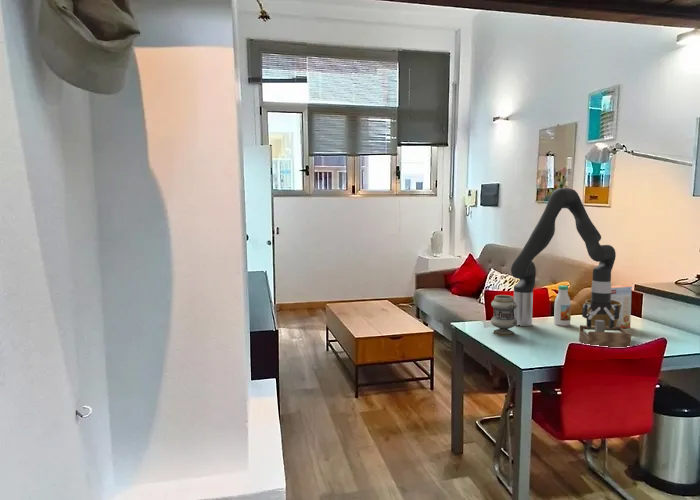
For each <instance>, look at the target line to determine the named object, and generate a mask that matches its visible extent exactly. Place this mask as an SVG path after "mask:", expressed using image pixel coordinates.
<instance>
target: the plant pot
mask: <svg viewBox="0 0 700 500" xmlns="http://www.w3.org/2000/svg"><path fill="white" fill-rule="evenodd" d="M585 304H591V298H589V299H586V300H585ZM614 304H616V305H618V306H619V314H620V309H621V304H622V303H621V302H619V301H615V300H611V305H614ZM591 310H592V309H591V308H590V307H589V309H587V315H588V314H589V312H590V311H591ZM609 312H610V313H611V314H612V316H614V310H613V308H611V309H610V310H609ZM609 319H610V318H609V317H608V315H607V314H605V315H603V314H600V315H597V314H595V315H594V316H593V317H592V318H591V326H595V320H603V321H605V326H609ZM617 321H618V319H615V320H614V326H616V324H617Z"/></svg>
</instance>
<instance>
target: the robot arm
mask: <svg viewBox="0 0 700 500" xmlns="http://www.w3.org/2000/svg"><path fill="white" fill-rule="evenodd" d="M563 209H567V210H568V211H569V212H570V213H571V214H572V216H573V218H574V220H575V221H574V222H575V228H576V231H577V233H578V235H579V236H580V238H581V239H582V240H583V242H584V244H585V248H586V250H587V254H588V256H589V258H590V259H591V260H592V261H595V262H598V265H597V266H595V267H593V269H592V281H591V288H590V290H591V292H590V293H591V294H590V295H591V296H590V297H591V298H590V299H591V304H586V302H583V304H582V313H581V317H582V318H584V319H586V325H587V326H588V327H589V328H591V318H592V317H593V316H594V315H595V314H597V315H600V314H603V315H605V314H607V315H608V317H609V318H610V319H609V328H610V329H612V327H614V320H615V319H619V306H618V305H616V304H614V305H611V286H612V270H613V267H614V265H615V260H616V256H617V255H616V254H617V253H616V249H615V248H614V247H613V246H612V245H610V244H600V242H601V239H602V235H601V234H600V231H598V229H597V227H596V226H595V225H594V223H593V221H592V220H591V218H590V216H589V214H588V212H587V211H586V208H585V206H584V204H583V202H582V199H581V196H579V193H578V192H577V191H576V190H575V189H573V188H564V187H558V188H556V189H554V190H553V192H552V193H551V195H550V197H549V199H548V201H547V204H546V206H545V208H544V211H543V213H542V214H541V216H540V217H539V220H538V222H537V224H536V225H535V227H534V229H533V230H532V232H531V234H530V236H529V238H528V240H527V241H526V242H525V245H524V246H523V249H522V250H521V251H520V253H519V254H518V255H517V257H516V258H515V260H514V261H513V263H512V265H511V266H510V273H511V276H512V277H513V278H515V279H518V282H517V283H516V284H514V286H513V299H514V301H515V302H516V303H517V307H516V308H515V309H514V318H515V319H516V320H517V325H516V326H518V325H520V326H519V327H530V326H532V325H533V304H534V303H533V301H534V299H533V298H534V297H533V296H534V287H535V285H536V277H537V275H536V273H537V270H536V269H537V268H536V265H535V263H534V262H533V260H534V259H535V257H536V256H538V255H539V254H541V252H543V251H544V249H546V248H547V246H548V245H549V244H550V243H551V241H552V239H553V237H554V235H555V232H556V220H557V217H558V215H560V214H559V213H560V212H561V210H563ZM589 307H590V308H591V309H592V310H591V311H590V312H589V314H587V309H589ZM611 308H613V310H614V316H612V314H611V313H610V312H609V310H610V309H611Z"/></svg>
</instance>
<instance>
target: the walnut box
mask: <svg viewBox="0 0 700 500" xmlns="http://www.w3.org/2000/svg"><path fill="white" fill-rule="evenodd" d="M583 329H595V326H591V328H589V327H588V326H587V325H584V324H583V325H581V324H580V325H579V333H578V334H579V337H578V339H579V340H578V341H579V342H580V343H581V344H582V343H584V344H590V345H599V346H608V347H627V346H631V345H632V344H631V343H632V334H631V333H630V332H629V331H627V330H626V329H625V328H621V327H617V326H614V327H612V329H610V328H609V326H605V329H608V330H619V331H620V332H622V333H620V332H591V331H589V332H588V335H587V334H586V333H585V332H584V331H583Z"/></svg>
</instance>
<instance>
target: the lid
mask: <svg viewBox="0 0 700 500" xmlns="http://www.w3.org/2000/svg"><path fill="white" fill-rule="evenodd" d="M583 331H584V332H585V333H586V334H587V335H588V332H589V331H591V332H620V331H619V330H608V329H605V321H603V320H595V329H583ZM620 333H622V332H620Z"/></svg>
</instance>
